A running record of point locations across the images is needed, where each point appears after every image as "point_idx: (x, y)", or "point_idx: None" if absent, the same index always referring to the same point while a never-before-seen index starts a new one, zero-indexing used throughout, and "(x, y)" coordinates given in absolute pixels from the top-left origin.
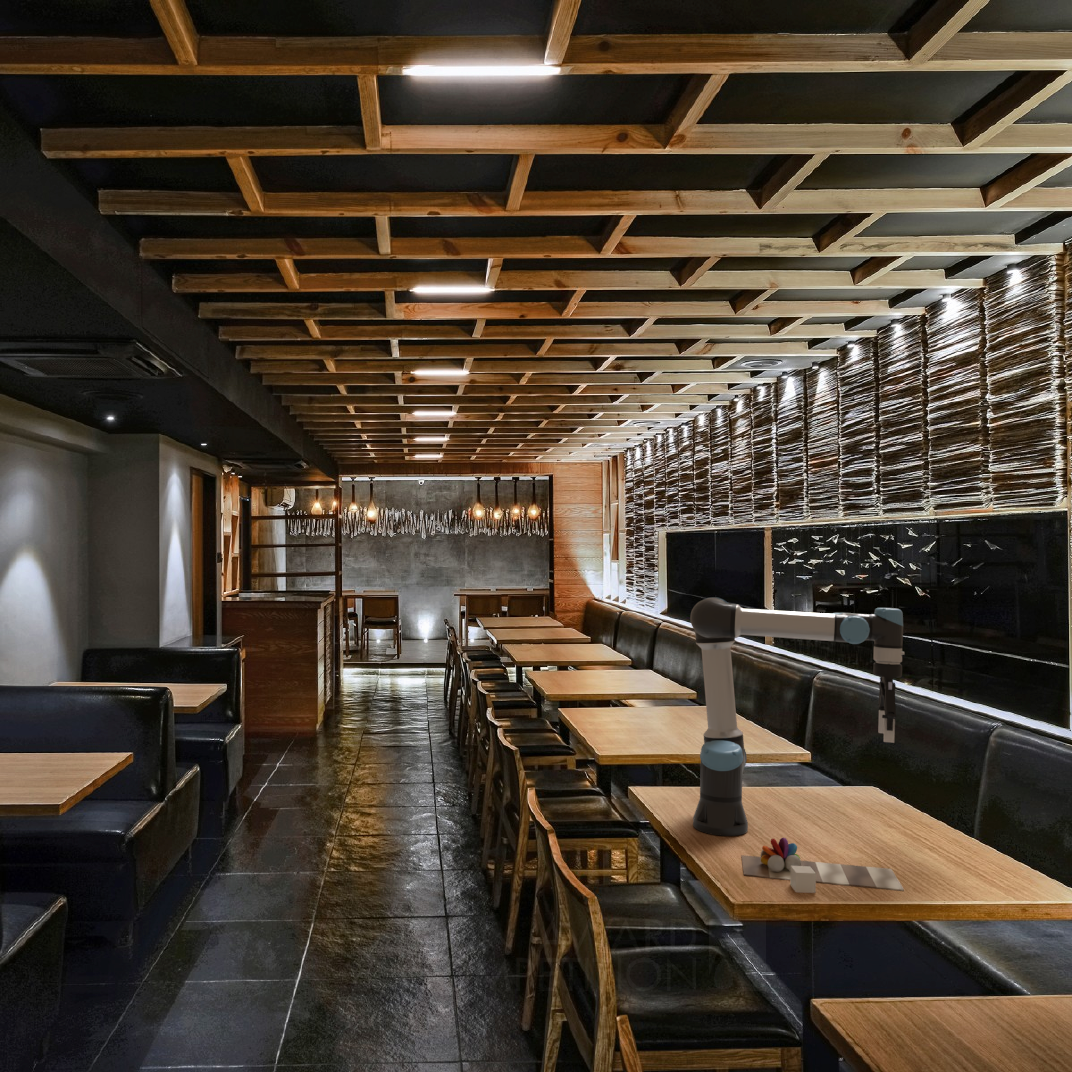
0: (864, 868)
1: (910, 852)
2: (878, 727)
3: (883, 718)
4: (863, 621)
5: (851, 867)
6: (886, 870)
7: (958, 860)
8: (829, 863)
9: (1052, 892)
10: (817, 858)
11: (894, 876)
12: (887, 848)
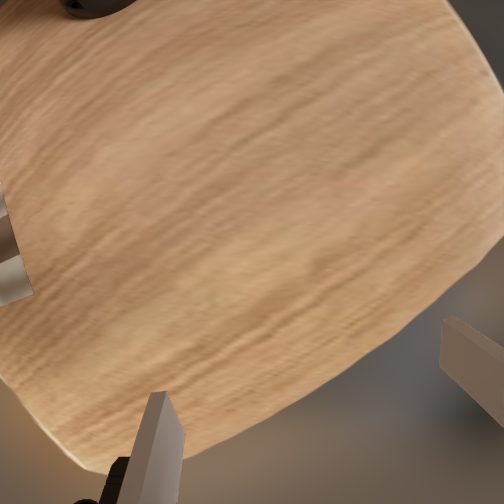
0: (10, 254)
1: (148, 319)
2: (469, 328)
3: (494, 385)
4: None
5: (3, 234)
6: (22, 287)
7: (158, 390)
8: (1, 197)
9: (109, 468)
10: (18, 170)
11: (8, 300)
12: (145, 276)
